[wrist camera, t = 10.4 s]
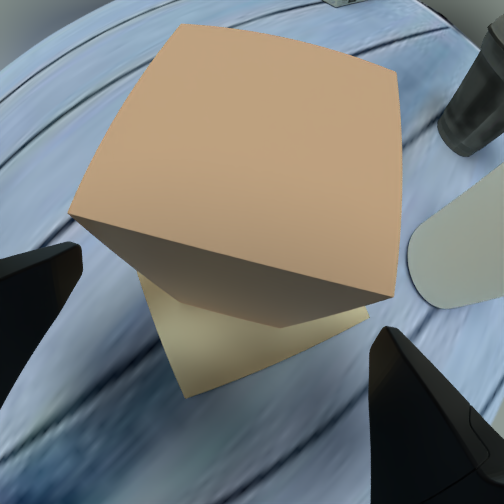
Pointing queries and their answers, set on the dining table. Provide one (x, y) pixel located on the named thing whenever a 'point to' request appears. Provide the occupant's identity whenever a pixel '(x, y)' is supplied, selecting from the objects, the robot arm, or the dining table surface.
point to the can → (462, 247)
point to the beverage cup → (478, 99)
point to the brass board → (230, 340)
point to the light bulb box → (341, 2)
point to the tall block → (253, 177)
